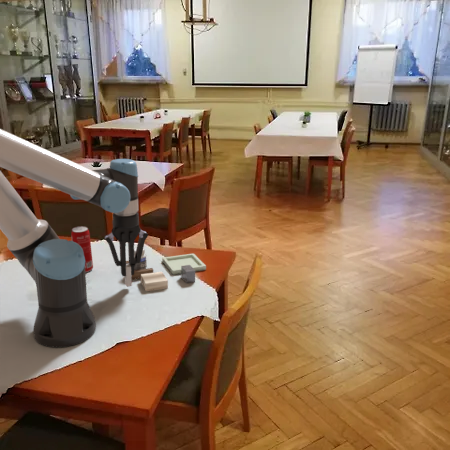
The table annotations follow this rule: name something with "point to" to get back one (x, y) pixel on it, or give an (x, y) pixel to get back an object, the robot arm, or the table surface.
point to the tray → (183, 263)
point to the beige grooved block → (154, 281)
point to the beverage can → (83, 244)
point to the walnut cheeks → (140, 272)
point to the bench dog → (188, 273)
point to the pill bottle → (142, 262)
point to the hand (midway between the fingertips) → (128, 284)
